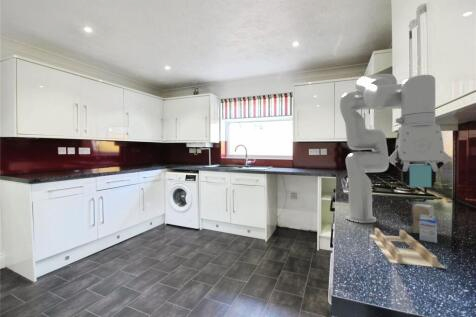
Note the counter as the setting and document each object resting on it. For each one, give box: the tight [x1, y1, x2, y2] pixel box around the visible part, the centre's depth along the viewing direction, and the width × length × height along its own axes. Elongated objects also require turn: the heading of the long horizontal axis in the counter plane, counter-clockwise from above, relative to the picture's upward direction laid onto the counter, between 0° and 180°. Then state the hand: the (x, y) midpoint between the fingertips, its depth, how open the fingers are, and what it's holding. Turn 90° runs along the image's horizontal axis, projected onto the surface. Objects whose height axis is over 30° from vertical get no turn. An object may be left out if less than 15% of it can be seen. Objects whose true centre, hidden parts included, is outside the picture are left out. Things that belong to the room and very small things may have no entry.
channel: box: [369, 227, 446, 269], centre depth 69 cm, size 22×12×4 cm, turn 162°
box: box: [412, 203, 435, 234], centre depth 83 cm, size 5×4×11 cm
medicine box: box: [419, 214, 438, 244], centre depth 76 cm, size 8×4×9 cm, turn 141°
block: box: [408, 163, 432, 188], centre depth 64 cm, size 6×5×5 cm
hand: (417, 184), depth 64 cm, fingers closed on block, 5 cm apart
